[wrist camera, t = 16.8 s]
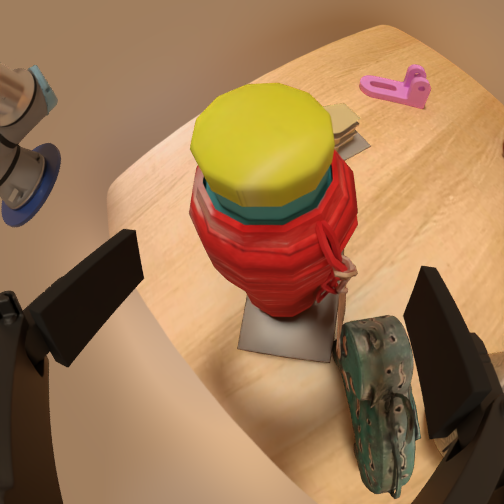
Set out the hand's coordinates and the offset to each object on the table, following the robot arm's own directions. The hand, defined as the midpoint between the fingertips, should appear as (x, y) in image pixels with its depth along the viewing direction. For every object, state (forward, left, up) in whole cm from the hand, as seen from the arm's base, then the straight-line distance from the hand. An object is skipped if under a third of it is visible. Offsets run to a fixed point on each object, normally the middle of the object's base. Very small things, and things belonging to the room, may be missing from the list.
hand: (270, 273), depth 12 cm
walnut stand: (+1, +2, -25) cm, 25 cm away
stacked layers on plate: (+4, +28, -25) cm, 38 cm away
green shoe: (+11, -9, -25) cm, 29 cm away
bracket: (+16, +44, -25) cm, 53 cm away
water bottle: (+1, +2, -19) cm, 19 cm away
